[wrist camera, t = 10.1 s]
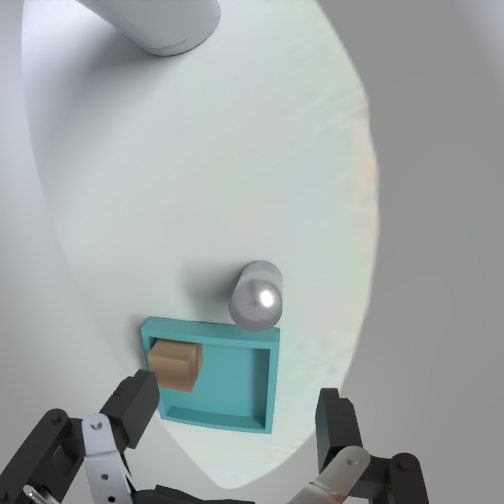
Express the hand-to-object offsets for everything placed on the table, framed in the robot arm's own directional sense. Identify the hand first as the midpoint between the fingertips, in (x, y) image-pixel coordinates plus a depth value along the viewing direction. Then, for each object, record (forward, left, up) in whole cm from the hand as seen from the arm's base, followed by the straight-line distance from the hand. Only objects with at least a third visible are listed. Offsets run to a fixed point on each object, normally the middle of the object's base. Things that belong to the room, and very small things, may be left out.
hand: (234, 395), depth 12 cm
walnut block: (+8, -8, -15) cm, 19 cm away
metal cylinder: (0, 0, -15) cm, 16 cm away
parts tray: (+12, -5, -15) cm, 20 cm away
